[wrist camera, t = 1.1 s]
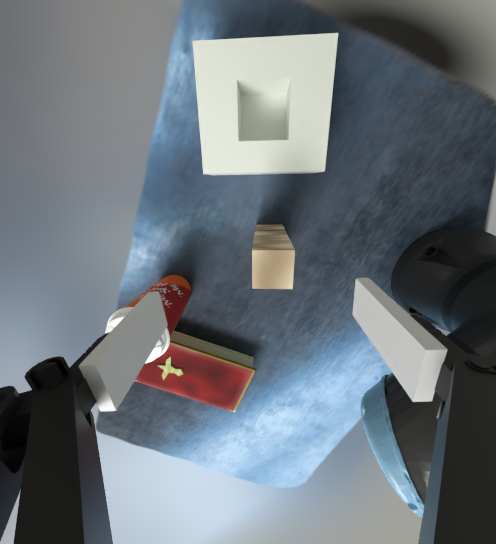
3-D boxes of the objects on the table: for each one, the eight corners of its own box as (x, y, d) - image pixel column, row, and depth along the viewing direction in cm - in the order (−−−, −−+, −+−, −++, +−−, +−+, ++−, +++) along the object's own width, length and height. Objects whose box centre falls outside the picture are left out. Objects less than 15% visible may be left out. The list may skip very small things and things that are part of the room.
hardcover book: (236, 396, 49) (234, 415, 45) (140, 365, 47) (129, 382, 43) (256, 354, 44) (255, 371, 40) (151, 319, 43) (140, 333, 39)
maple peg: (282, 224, 34) (295, 249, 21) (281, 250, 36) (292, 289, 23) (255, 224, 35) (251, 250, 22) (255, 250, 36) (252, 288, 23)
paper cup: (191, 265, 38) (153, 309, 25) (202, 306, 40) (173, 364, 27) (146, 271, 39) (88, 317, 26) (160, 310, 41) (113, 370, 28)
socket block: (322, 63, 27) (338, 32, 22) (313, 173, 32) (324, 171, 26) (206, 69, 28) (192, 40, 22) (213, 175, 32) (203, 173, 27)
